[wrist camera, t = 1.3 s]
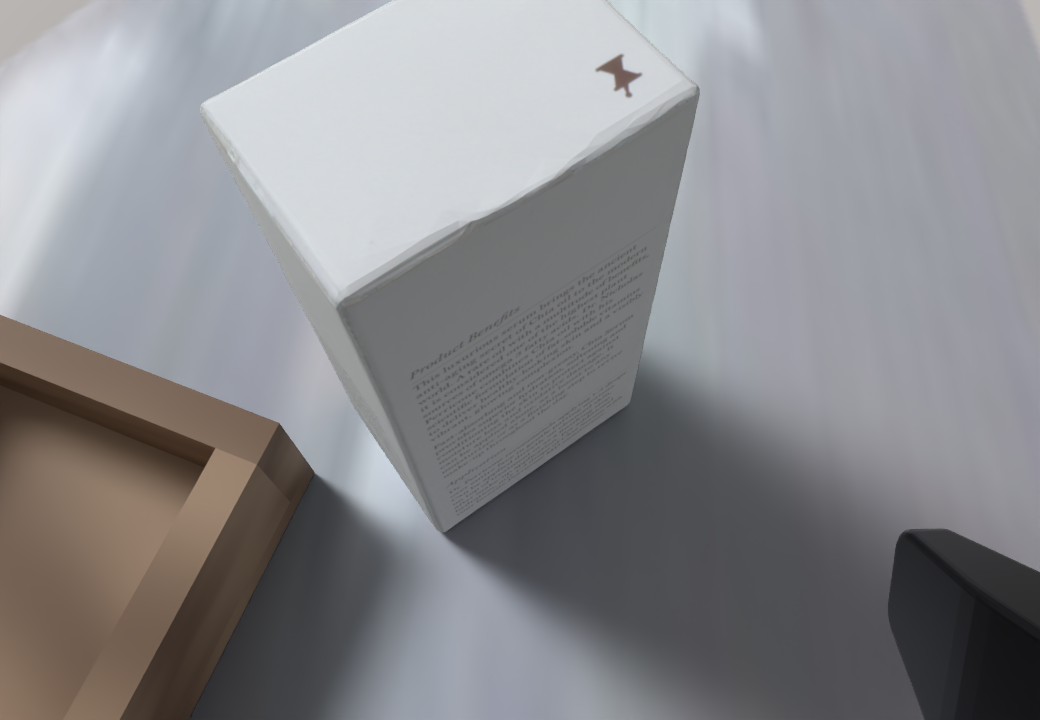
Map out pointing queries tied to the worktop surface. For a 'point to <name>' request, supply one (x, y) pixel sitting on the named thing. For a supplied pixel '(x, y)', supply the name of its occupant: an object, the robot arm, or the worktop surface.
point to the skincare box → (469, 222)
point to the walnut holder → (125, 531)
